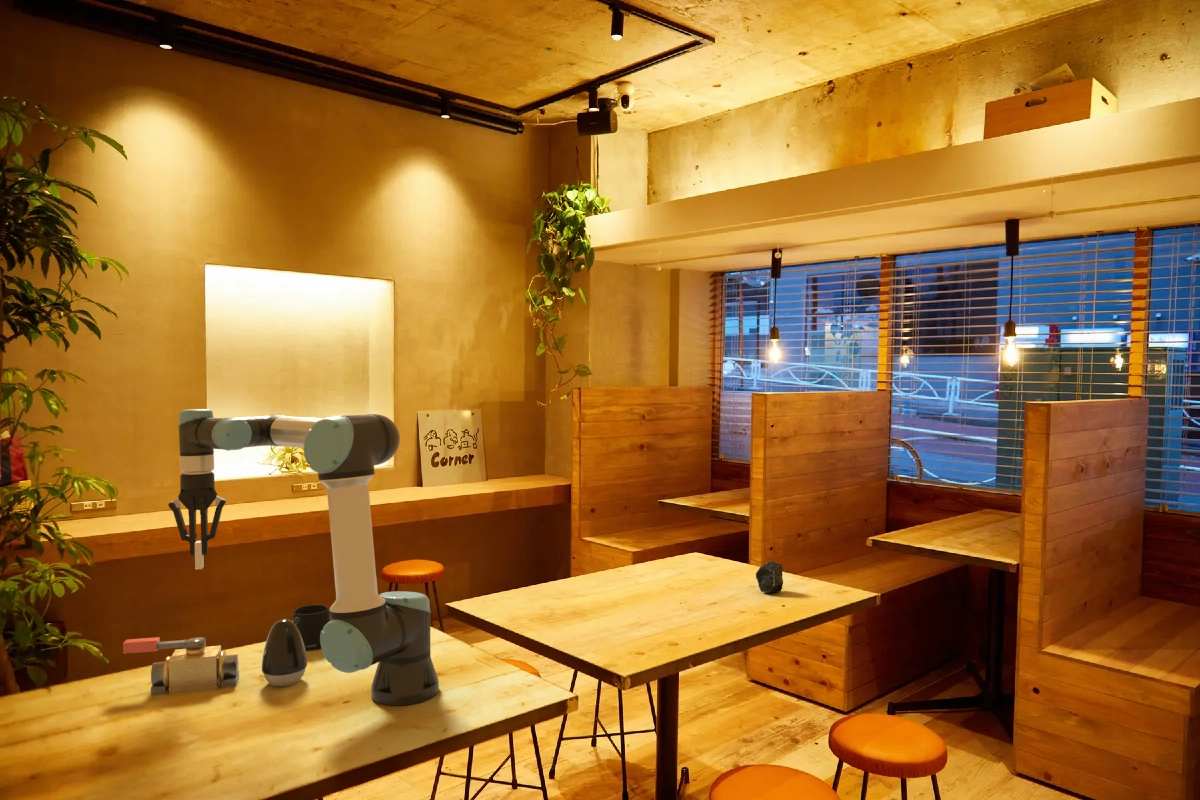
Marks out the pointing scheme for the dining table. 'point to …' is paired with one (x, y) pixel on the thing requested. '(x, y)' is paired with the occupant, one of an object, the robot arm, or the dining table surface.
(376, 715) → the dining table surface
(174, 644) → the lever
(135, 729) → the dining table surface
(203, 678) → the valve
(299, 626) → the pen holder
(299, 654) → the black egg-shaped shaker
